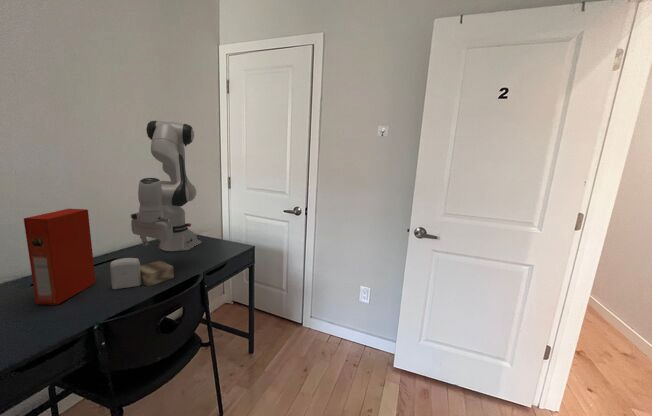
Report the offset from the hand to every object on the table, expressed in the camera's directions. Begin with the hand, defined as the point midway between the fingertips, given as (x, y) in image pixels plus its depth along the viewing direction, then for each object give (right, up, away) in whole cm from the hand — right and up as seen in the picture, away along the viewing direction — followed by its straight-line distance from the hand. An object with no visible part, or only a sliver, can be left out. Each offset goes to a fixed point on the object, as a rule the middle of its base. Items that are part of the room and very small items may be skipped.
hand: (153, 246), depth 123 cm
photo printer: (-8, -16, -5) cm, 19 cm away
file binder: (-25, -17, -13) cm, 33 cm away
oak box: (-1, -15, +3) cm, 15 cm away
